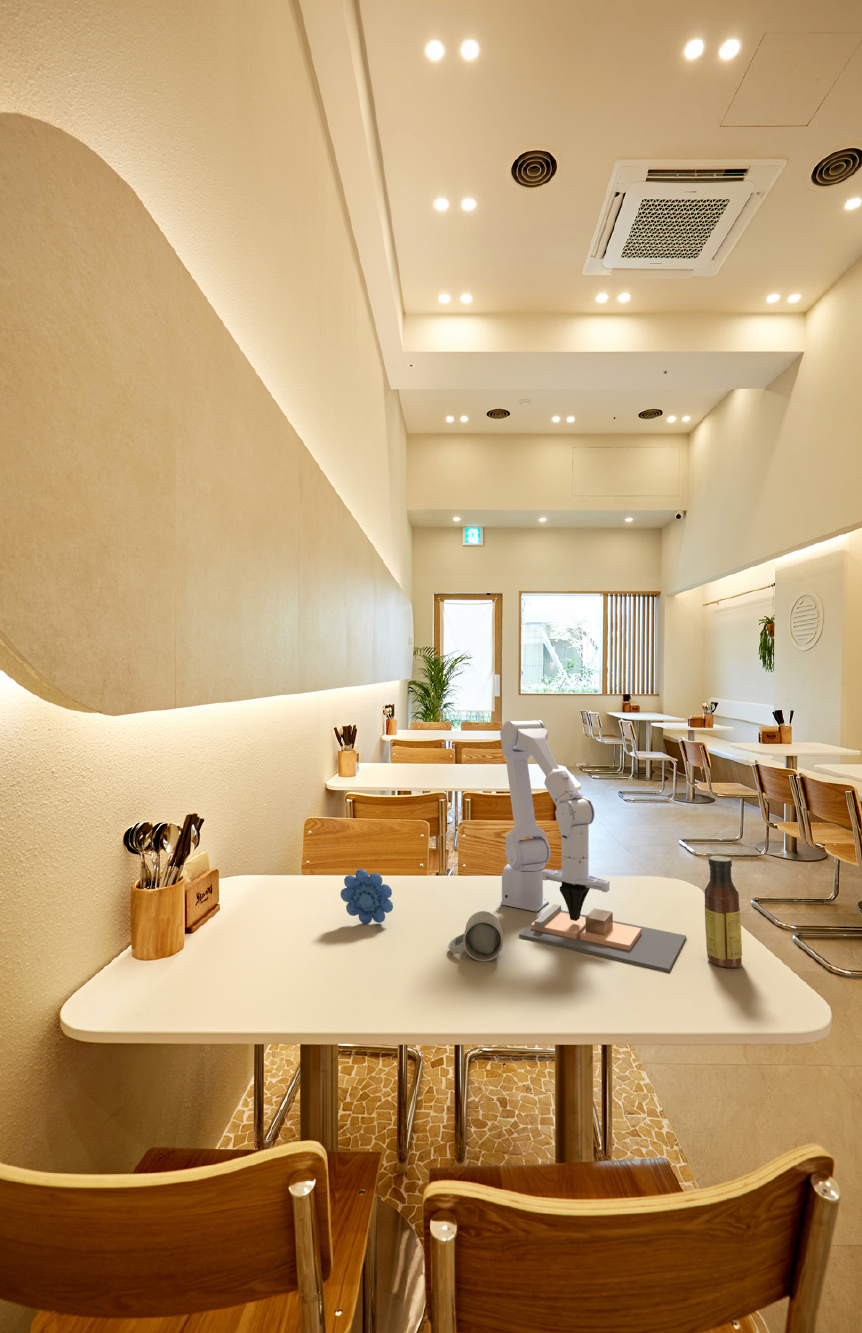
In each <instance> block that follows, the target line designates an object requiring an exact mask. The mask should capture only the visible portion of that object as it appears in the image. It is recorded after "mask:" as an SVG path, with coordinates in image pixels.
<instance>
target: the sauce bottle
mask: <svg viewBox="0 0 862 1333" xmlns="http://www.w3.org/2000/svg"><path fill="white" fill-rule="evenodd" d="M708 865H709V882H708V884H707V886H706V887H705V889H704V922H705V923H704V924H705V925H704V926H705V942H706V954H707V959H708V961H710V962H711V963H712V964H713V965H715V966H718V967H723V968H727V969H729V968H730V969H735V968H739V967H740V966H741V965H742V958H743V957H742V956H743V945H742V941H743V940H742V924H741V923H742V920H741V908H740V895H739V892H738V890H737V889H736V887H735V884H734V883H733V881H732V880H733V878H732V866H733V862H732V858H730V857H728V856H723V855H712V856H708Z"/></svg>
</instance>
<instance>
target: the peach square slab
mask: <svg viewBox="0 0 862 1333" xmlns="http://www.w3.org/2000/svg"><path fill="white" fill-rule="evenodd" d="M613 919H614V914H613V911H610V910H606V909H605V910H604V909H600V908H593V909H592V910H591V911H590V912H589V913H588V914H587V916H586V917H585V930H584V931H583V932H582V933H581V934H580V940H585V941H589V942H594V943H598V944H603V945H607V946H612V947H616V948H620V949H625V950H629V951H630V949H631V948H632V946H633V945H634V943H635V942H636V940H637V939H638V938H639V936H640V935H641V928H637V927H632V926H627V925H622V924H617V923H613V921H614V920H613Z"/></svg>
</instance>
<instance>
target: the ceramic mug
mask: <svg viewBox="0 0 862 1333" xmlns="http://www.w3.org/2000/svg"><path fill="white" fill-rule="evenodd" d="M502 929H503V928H502V924H501V922H500V921H499V919H498V918H497V917H496V915H494V914H493V913H491V912H489V911H483V910H482V911H477V912H475V913H473V914H472V915H471V916H470V917H469V918H468V920H467V921H466V924H465V929H464V933H462V934H459V935H458V936H456V937H455V938H452V939H451V941H450V942H449V943H448V949H449V951H450V953H451V955H458V954H462V953H465V952H466V954H467V955H468V956H469V957H470V958H472V959H473V960H475V961H478V962H489V961H492V960H495V959H496V958H497V957H498V956H499V954H500V953H501V952H502V949H503V945H504V937H503V930H502Z"/></svg>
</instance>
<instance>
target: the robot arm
mask: <svg viewBox="0 0 862 1333" xmlns="http://www.w3.org/2000/svg"><path fill="white" fill-rule="evenodd" d="M499 734H500V735H499V736H500V737H499V738H500V742H501V743H500V744H501V750H502V756H504V757H505V762H506V771H507V777H508V778H507V780H508V785H509V786H508V787H509V795H510V803H511V809H512V811H511V812H512V817H513V818H512V819H513V828H512V829H511V830H509V832H507V834H506V835H505V848H504V856H505V859H506V861H507V864H506V865H505V866H504V868H503V869H502V870H503V871H502V874H501V901H500V905H503V906H506V907H507V906H508V907H513V908H517V909H521V910H525V911H526V910H527V911H530V912H531V911H532V912H539V911H540V910H542V909H543V907H545V905H547V904H548V903H549V902H550V901H549V899H546V898H544V881H552V882H557V883H561V886H559V892H560V893H561V895H562V897H563V899H564V901H565V902H564V903H565V905H566V907H567V911H568V912H569V916H570V920H574V921H577V920H578V919H580V914H582V913H581V912H582V908H583V905H584V902H585V899H586V897H587V895H588V893H589V891H590V889H592V890H596V891H601V892H602V893H608V892H609V891H610V880H607V879H606V880H605V879H602V878H600V877H597V876H596V877H595V876H593V875H590V872H589V866H590V865H589V854H590V853H589V836H590V835H589V831H590V829H589V825H591V824H592V823H593V822H594V820H595V808H594V806H593V804H592V801H591V800H590V799H589V798H587V797H585V796H584V795H583V794H581V793H579V791H578V789H577V788H576V786H575V784H574V782H573V781H572V779H571V777H570V775H569V773H568V772H567V771H566V770H562V769H560V768H559V767H560V766H559V765H558V763H557V761H556V759H555V756H554V755H553V754H554V753H553V752H552V750H551V748H550V745H549V744H548V737H549V732H548V729H547V728H546V726H545V724H544V722H543V721H542V720H540V719H536V720H519V721H518V720H515V721H514V720H513V721H512V720H507V721H505V722H504V723H503V725H502V728H501V730H500V732H499ZM530 756H532V758H533V759H534V760H535V762H536V763H537V765H538V767H539V768H540V770H541V771H542V773H543V774H544V776H545V779H544V781H543V782H544V785H545V788H546V790H547V791H548V793H549V795H550V797H551V799H552V801H553V804H555V806H556V810H555V811H554V812H555V817H556V821H557V823H558V824H557V825H558V831H559V834H561V835H560V836H561V840H560V842H561V843H560V844H561V858H560V860H561V867H560V868H561V869H560V870H555V869H548V868H546V866H547V863H548V862H549V861H550V859H551V853H552V852H551V845H550V844H549V842H548V839H547V834H546V832H545V830H543V829H542V828H541V827H539V826H538V825H537V821H536V817H535V816H536V815H535V807H534V800H533V792H532V786H531V779H530V773H529V772H530V770H529V764H528V759H529V758H530ZM523 838H524V839H523ZM544 868H545V869H544Z"/></svg>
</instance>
